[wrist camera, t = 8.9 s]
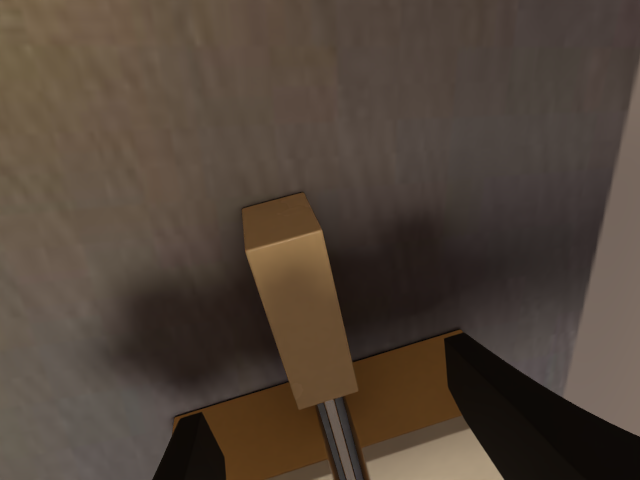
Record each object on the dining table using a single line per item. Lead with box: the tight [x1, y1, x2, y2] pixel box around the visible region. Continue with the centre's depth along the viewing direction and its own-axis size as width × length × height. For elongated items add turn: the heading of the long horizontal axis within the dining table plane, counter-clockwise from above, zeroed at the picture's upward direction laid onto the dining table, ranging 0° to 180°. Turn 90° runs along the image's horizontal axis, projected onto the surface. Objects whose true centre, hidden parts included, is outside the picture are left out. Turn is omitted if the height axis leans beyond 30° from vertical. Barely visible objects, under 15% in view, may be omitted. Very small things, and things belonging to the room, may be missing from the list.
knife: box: [242, 192, 359, 480], centre depth 17 cm, size 18×2×3 cm, turn 12°
